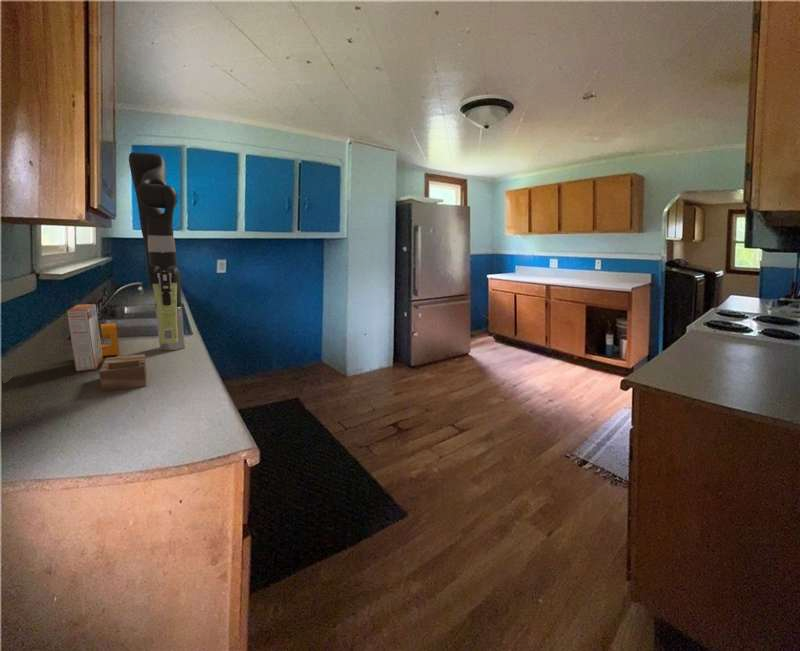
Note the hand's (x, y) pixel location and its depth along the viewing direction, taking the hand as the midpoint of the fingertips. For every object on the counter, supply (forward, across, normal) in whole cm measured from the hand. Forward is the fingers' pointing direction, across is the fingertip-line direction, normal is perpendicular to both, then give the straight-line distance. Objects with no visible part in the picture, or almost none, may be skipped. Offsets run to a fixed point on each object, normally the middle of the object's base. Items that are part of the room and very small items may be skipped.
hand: (167, 303), depth 132 cm
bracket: (+24, -38, -21) cm, 50 cm away
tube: (+13, 0, 0) cm, 13 cm away
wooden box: (+24, +2, -13) cm, 27 cm away
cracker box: (+24, -23, -25) cm, 42 cm away
